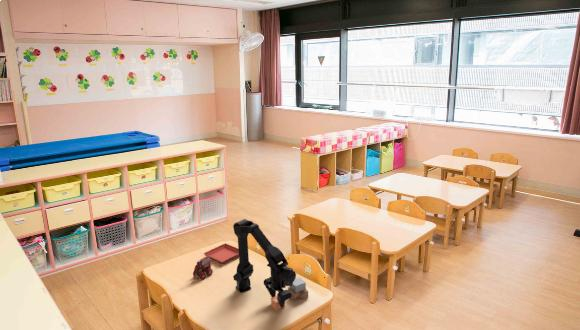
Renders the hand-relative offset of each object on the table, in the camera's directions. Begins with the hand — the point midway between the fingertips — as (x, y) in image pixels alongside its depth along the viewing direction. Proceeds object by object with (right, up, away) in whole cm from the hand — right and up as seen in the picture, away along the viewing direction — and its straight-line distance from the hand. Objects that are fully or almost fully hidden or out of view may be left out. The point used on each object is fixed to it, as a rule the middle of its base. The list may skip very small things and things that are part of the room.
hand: (278, 303), depth 205 cm
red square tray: (-35, +12, +52) cm, 64 cm away
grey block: (+10, +5, +8) cm, 14 cm away
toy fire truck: (-44, +5, +30) cm, 54 cm away
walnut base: (+10, +1, +8) cm, 13 cm away
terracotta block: (0, -1, 0) cm, 1 cm away
